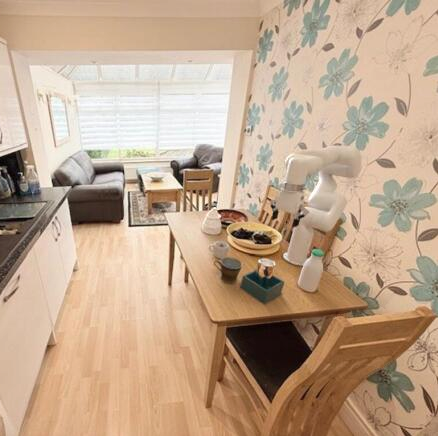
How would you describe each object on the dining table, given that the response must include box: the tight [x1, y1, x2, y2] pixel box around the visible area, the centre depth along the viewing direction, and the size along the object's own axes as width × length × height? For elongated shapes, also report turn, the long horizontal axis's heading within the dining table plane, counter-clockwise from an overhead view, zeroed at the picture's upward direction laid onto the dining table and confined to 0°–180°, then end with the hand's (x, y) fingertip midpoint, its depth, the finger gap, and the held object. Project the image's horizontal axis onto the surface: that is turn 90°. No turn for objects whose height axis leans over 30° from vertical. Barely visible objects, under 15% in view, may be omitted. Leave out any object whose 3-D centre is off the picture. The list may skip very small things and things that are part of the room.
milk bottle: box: [297, 248, 325, 293], centre depth 110 cm, size 8×8×20 cm
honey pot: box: [201, 206, 223, 236], centre depth 166 cm, size 13×13×18 cm
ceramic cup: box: [213, 256, 243, 284], centre depth 118 cm, size 13×10×10 cm
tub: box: [240, 268, 285, 305], centre depth 111 cm, size 13×13×7 cm
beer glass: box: [256, 257, 276, 290], centre depth 109 cm, size 7×7×15 cm
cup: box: [208, 240, 230, 260], centre depth 138 cm, size 11×8×8 cm
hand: (284, 222), depth 110 cm, fingers open, 9 cm apart
